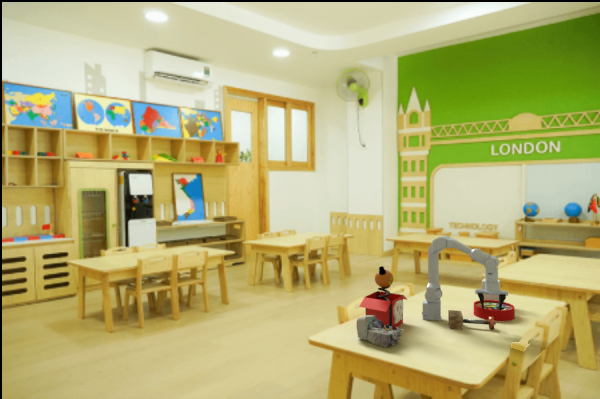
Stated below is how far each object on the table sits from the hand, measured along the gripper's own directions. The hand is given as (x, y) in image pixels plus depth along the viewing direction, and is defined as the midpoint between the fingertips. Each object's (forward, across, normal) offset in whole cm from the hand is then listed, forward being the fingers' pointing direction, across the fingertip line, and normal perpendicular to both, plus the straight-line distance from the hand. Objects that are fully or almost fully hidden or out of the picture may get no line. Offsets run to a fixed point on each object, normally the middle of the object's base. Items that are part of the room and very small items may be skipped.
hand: (491, 309), depth 211 cm
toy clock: (+10, +5, +23) cm, 26 cm away
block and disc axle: (+9, -6, 0) cm, 11 cm away
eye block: (+10, -16, 0) cm, 19 cm away
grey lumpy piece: (+10, -52, -29) cm, 60 cm away
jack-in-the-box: (+10, -50, -5) cm, 52 cm away
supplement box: (+10, +7, +42) cm, 44 cm away
